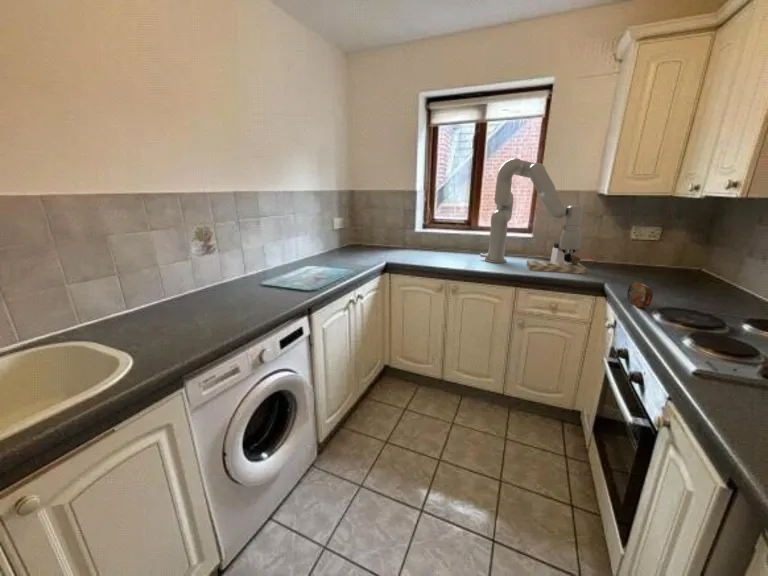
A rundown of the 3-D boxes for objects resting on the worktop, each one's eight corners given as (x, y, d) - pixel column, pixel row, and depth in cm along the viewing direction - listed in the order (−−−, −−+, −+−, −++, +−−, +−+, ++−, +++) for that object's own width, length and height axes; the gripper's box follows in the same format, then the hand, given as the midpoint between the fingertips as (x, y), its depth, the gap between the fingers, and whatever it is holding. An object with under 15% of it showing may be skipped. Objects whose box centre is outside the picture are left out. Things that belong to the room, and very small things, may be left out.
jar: (562, 265, 195) (566, 245, 192) (548, 263, 201) (551, 243, 197) (568, 263, 201) (571, 243, 198) (554, 261, 207) (557, 242, 203)
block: (570, 262, 183) (573, 255, 181) (567, 261, 186) (571, 254, 185) (577, 265, 182) (580, 258, 181) (574, 263, 186) (578, 257, 185)
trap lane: (529, 270, 183) (530, 264, 182) (526, 265, 195) (526, 260, 194) (585, 273, 176) (586, 268, 175) (578, 268, 188) (579, 263, 187)
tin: (625, 298, 137) (629, 278, 134) (634, 299, 136) (638, 279, 134) (640, 310, 123) (646, 289, 121) (650, 311, 122) (656, 289, 120)
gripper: (558, 228, 178) (553, 261, 183) (589, 229, 175) (583, 263, 180) (555, 227, 185) (550, 259, 190) (585, 228, 182) (579, 260, 187)
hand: (566, 261), depth 185 cm, fingers closed
